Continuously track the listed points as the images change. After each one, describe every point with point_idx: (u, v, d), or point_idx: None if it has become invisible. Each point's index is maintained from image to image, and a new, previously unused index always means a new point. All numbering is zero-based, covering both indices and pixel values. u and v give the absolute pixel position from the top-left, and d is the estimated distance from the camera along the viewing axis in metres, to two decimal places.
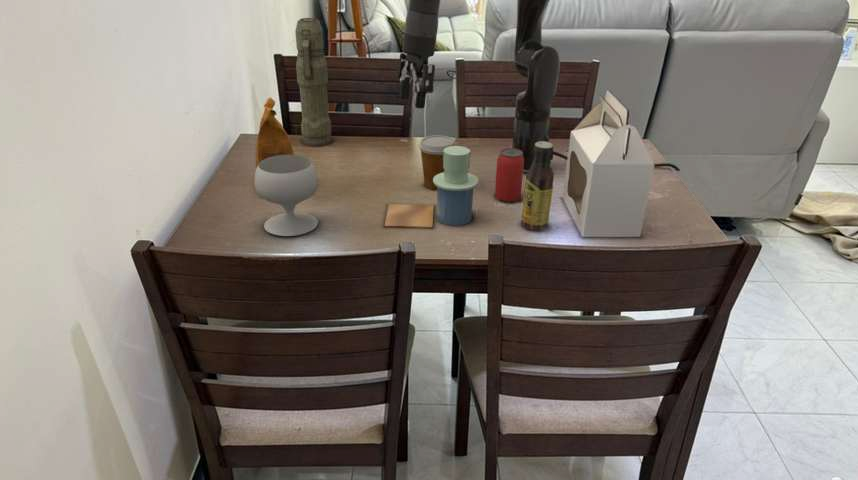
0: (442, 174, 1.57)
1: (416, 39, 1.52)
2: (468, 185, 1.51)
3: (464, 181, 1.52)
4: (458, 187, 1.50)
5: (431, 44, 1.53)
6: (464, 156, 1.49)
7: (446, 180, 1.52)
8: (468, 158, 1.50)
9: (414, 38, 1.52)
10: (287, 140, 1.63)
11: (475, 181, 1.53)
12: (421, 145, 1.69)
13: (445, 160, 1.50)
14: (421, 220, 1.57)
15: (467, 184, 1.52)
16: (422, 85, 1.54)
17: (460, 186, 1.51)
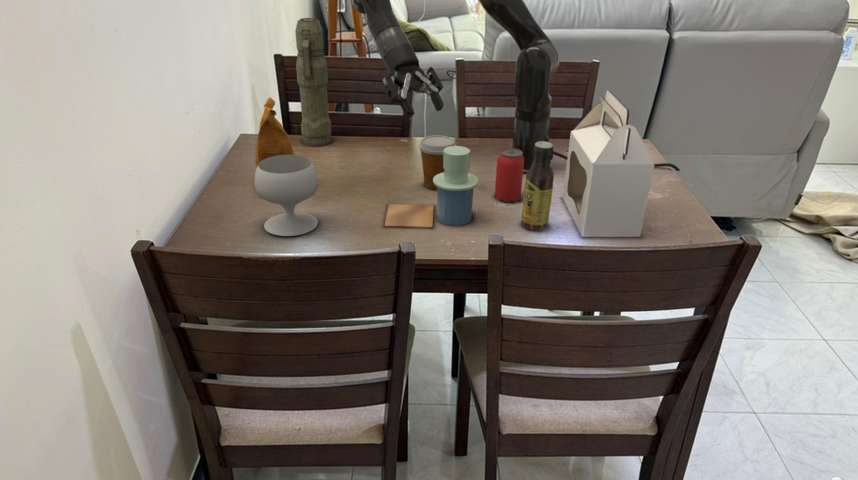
0: (442, 174, 1.57)
1: (412, 48, 1.56)
2: (468, 185, 1.51)
3: (464, 181, 1.52)
4: (458, 187, 1.50)
5: None
6: (464, 156, 1.49)
7: (446, 180, 1.52)
8: (468, 158, 1.50)
9: None
10: (287, 140, 1.63)
11: (475, 181, 1.53)
12: (421, 145, 1.69)
13: (445, 160, 1.50)
14: (421, 220, 1.57)
15: (467, 184, 1.52)
16: (439, 83, 1.58)
17: (460, 186, 1.51)
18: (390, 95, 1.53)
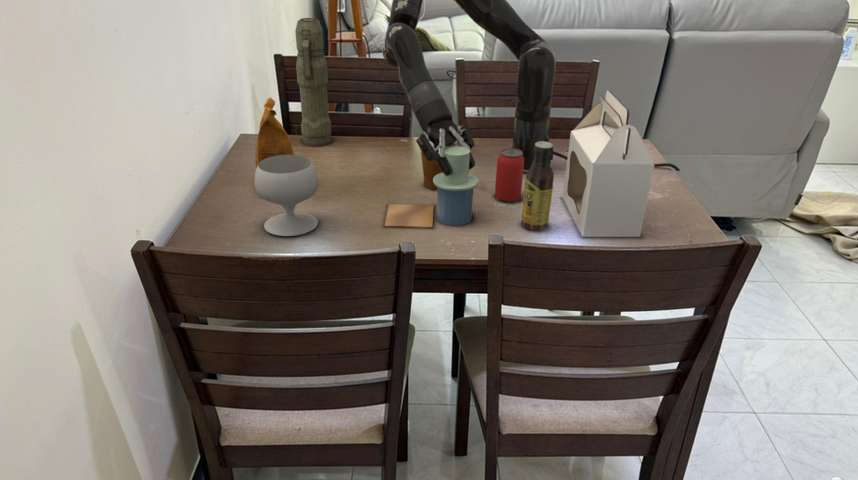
0: (442, 174, 1.57)
1: (445, 103, 1.53)
2: (468, 185, 1.51)
3: (464, 181, 1.52)
4: (458, 187, 1.50)
5: None
6: (464, 156, 1.49)
7: (446, 180, 1.52)
8: (468, 158, 1.50)
9: None
10: (287, 140, 1.63)
11: (475, 181, 1.53)
12: None
13: None
14: (421, 220, 1.57)
15: (467, 184, 1.52)
16: (471, 141, 1.54)
17: (460, 186, 1.51)
18: (427, 153, 1.50)
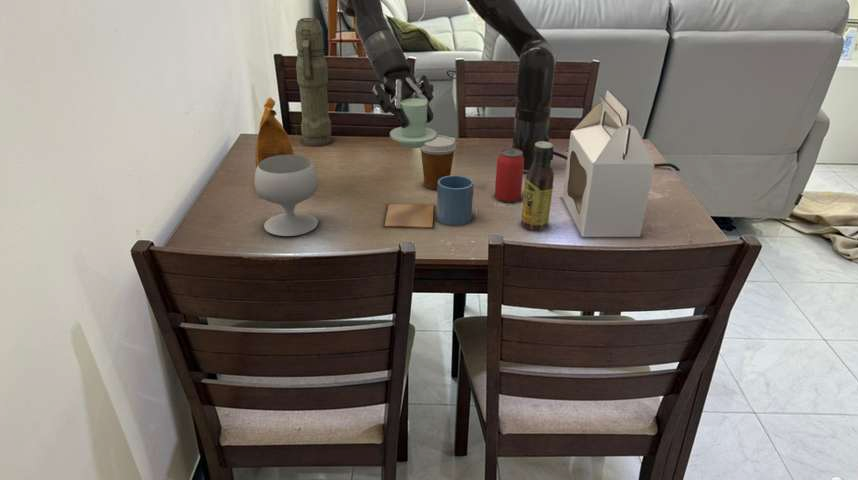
0: (400, 128, 1.52)
1: (403, 53, 1.48)
2: (425, 138, 1.46)
3: (422, 134, 1.47)
4: (415, 140, 1.45)
5: None
6: (421, 107, 1.44)
7: (403, 133, 1.47)
8: (425, 110, 1.45)
9: (402, 52, 1.47)
10: (287, 140, 1.63)
11: (433, 135, 1.48)
12: None
13: None
14: (421, 220, 1.57)
15: (425, 137, 1.47)
16: (430, 93, 1.49)
17: (417, 139, 1.46)
18: (383, 105, 1.45)
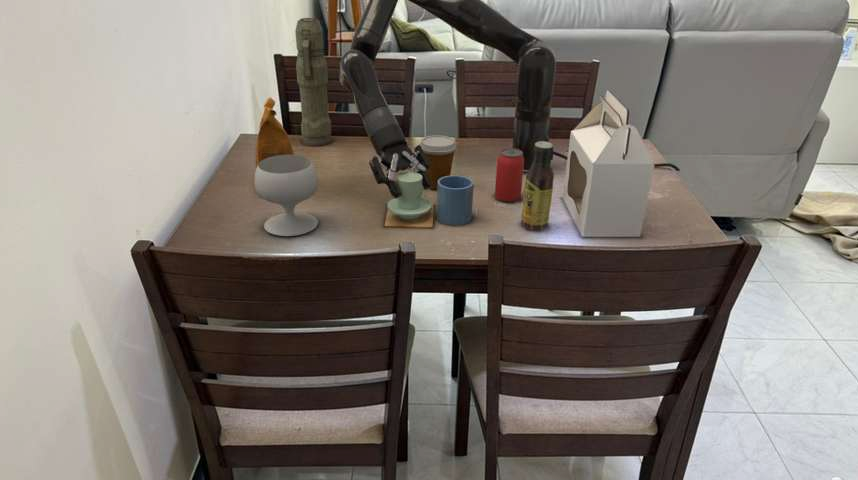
0: (397, 199, 1.60)
1: (400, 128, 1.56)
2: (421, 210, 1.55)
3: (417, 206, 1.56)
4: (411, 212, 1.54)
5: None
6: (416, 182, 1.52)
7: (400, 205, 1.56)
8: (420, 184, 1.54)
9: (399, 127, 1.56)
10: (287, 140, 1.63)
11: (428, 206, 1.57)
12: (421, 145, 1.69)
13: (398, 186, 1.54)
14: (421, 220, 1.57)
15: (420, 209, 1.55)
16: (427, 162, 1.58)
17: (413, 211, 1.54)
18: (377, 176, 1.53)
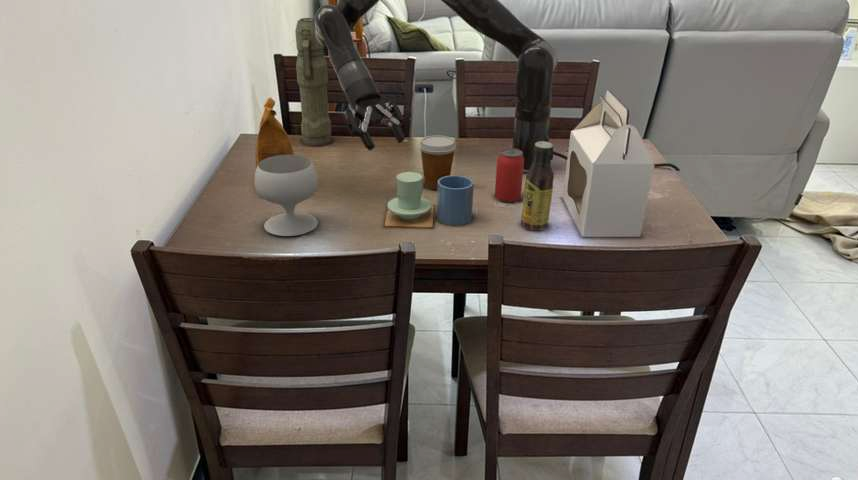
0: (397, 199, 1.60)
1: None
2: (421, 210, 1.55)
3: (417, 206, 1.56)
4: (411, 212, 1.54)
5: None
6: (416, 182, 1.52)
7: (400, 205, 1.56)
8: (420, 184, 1.54)
9: None
10: (287, 140, 1.63)
11: (428, 206, 1.57)
12: (421, 145, 1.69)
13: (398, 186, 1.54)
14: (421, 220, 1.57)
15: (420, 209, 1.55)
16: (401, 116, 1.61)
17: (413, 211, 1.54)
18: (351, 128, 1.55)
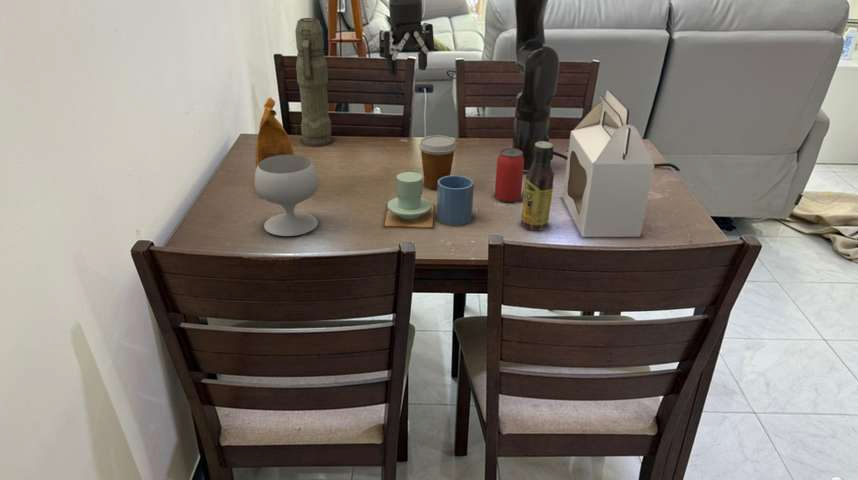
0: (397, 199, 1.60)
1: (421, 5, 1.53)
2: (421, 210, 1.55)
3: (417, 206, 1.56)
4: (411, 212, 1.54)
5: None
6: (416, 182, 1.52)
7: (400, 205, 1.56)
8: (420, 184, 1.54)
9: (421, 4, 1.53)
10: (287, 140, 1.63)
11: (428, 206, 1.57)
12: (421, 145, 1.69)
13: (398, 186, 1.54)
14: (421, 220, 1.57)
15: (420, 209, 1.55)
16: (432, 44, 1.61)
17: (413, 211, 1.54)
18: (382, 49, 1.55)
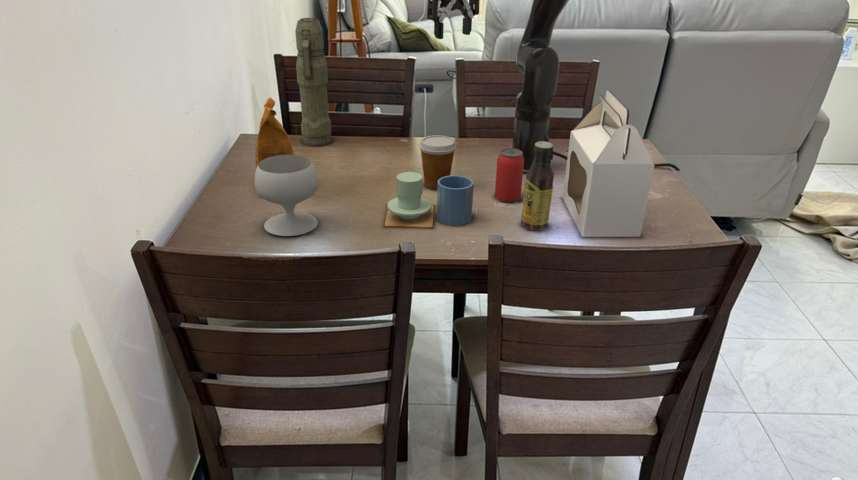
0: (397, 199, 1.60)
1: None
2: (421, 210, 1.55)
3: (417, 206, 1.56)
4: (411, 212, 1.54)
5: None
6: (416, 182, 1.52)
7: (400, 205, 1.56)
8: (420, 184, 1.54)
9: None
10: (287, 140, 1.63)
11: (428, 206, 1.57)
12: (421, 145, 1.69)
13: (398, 186, 1.54)
14: (421, 220, 1.57)
15: (420, 209, 1.55)
16: (477, 9, 1.62)
17: (413, 211, 1.54)
18: (430, 11, 1.56)
